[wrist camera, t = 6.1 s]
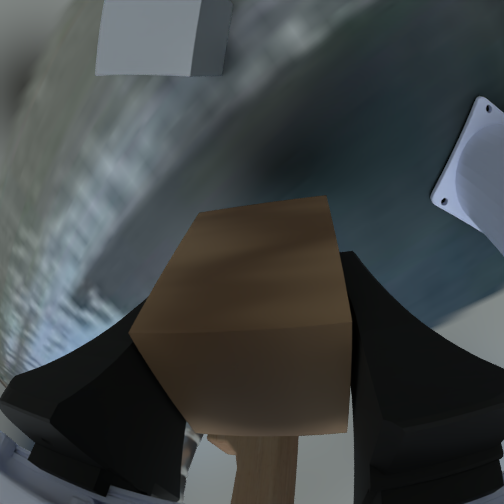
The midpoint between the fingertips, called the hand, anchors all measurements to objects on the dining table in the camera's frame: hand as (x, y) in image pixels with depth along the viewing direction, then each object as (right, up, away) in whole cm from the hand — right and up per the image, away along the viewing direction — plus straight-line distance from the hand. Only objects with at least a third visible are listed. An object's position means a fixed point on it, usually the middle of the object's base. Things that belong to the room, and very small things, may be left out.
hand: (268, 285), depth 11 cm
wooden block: (0, -17, +22) cm, 28 cm away
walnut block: (0, +1, +1) cm, 2 cm away
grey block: (-4, +13, +4) cm, 15 cm away
